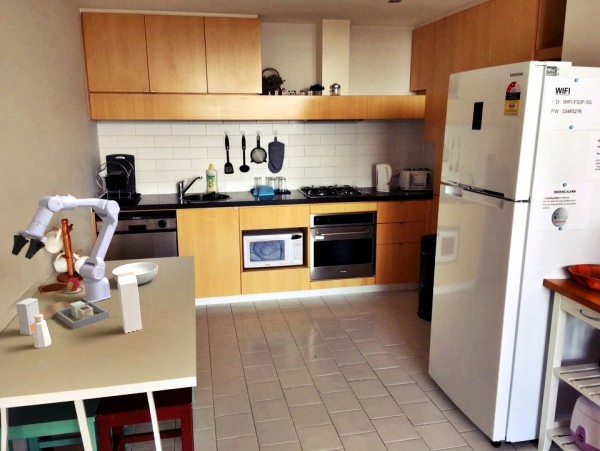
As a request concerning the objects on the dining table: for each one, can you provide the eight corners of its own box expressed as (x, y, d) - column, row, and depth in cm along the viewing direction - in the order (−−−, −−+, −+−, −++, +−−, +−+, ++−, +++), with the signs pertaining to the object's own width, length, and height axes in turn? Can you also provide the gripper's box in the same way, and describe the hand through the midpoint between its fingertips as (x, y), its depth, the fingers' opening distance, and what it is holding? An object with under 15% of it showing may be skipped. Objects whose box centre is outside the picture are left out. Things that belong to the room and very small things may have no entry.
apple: (85, 291, 216) (83, 278, 215) (66, 295, 212) (64, 281, 210) (82, 286, 223) (80, 273, 221) (63, 290, 218) (61, 277, 217)
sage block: (81, 312, 192) (80, 300, 191) (86, 315, 189) (85, 303, 188) (71, 315, 190) (70, 303, 189) (76, 318, 187) (74, 306, 185)
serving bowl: (141, 272, 242) (140, 259, 240) (168, 279, 229) (167, 266, 228) (104, 284, 225) (102, 270, 224) (131, 292, 213) (129, 278, 212)
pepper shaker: (39, 341, 168) (35, 312, 165) (54, 341, 168) (50, 311, 165) (30, 348, 162) (26, 318, 160) (46, 348, 162) (41, 318, 160)
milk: (142, 330, 175) (136, 273, 170) (125, 333, 172) (118, 276, 167) (138, 324, 180) (133, 268, 175) (122, 327, 177) (116, 271, 172)
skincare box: (30, 335, 173) (25, 304, 170) (20, 334, 173) (15, 303, 171) (42, 328, 178) (37, 298, 176) (32, 327, 179) (27, 297, 177)
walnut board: (64, 303, 202) (64, 300, 202) (76, 310, 194) (75, 308, 194) (29, 313, 192) (28, 310, 192) (39, 321, 184) (38, 318, 184)
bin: (91, 307, 198) (90, 301, 197) (108, 317, 186) (108, 311, 186) (56, 317, 188) (55, 311, 187) (73, 329, 177) (72, 322, 176)
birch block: (89, 317, 188) (87, 304, 187) (94, 320, 185) (92, 307, 184) (78, 320, 185) (77, 307, 184) (83, 323, 182) (82, 310, 181)
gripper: (17, 216, 181) (-1, 248, 177) (43, 222, 175) (25, 255, 171) (32, 224, 187) (14, 256, 183) (57, 230, 181) (40, 262, 177)
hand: (20, 256), depth 177 cm, fingers open, 7 cm apart
